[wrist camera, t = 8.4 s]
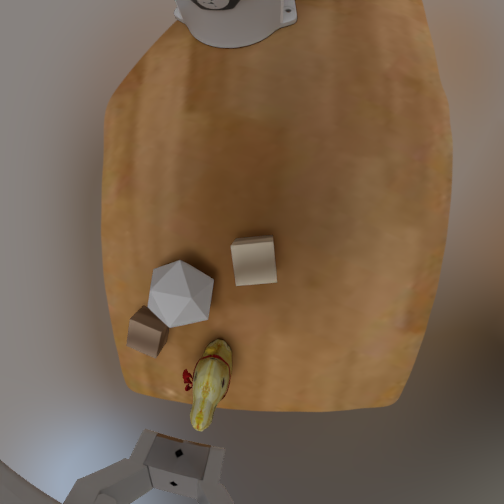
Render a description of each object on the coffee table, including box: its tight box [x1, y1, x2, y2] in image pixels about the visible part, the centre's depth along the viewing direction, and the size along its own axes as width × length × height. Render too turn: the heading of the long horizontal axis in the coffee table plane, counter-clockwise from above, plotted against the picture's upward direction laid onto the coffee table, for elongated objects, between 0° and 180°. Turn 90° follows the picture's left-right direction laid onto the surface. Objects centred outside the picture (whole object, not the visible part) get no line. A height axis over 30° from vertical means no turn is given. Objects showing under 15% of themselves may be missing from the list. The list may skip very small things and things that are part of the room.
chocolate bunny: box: [183, 339, 232, 431], centre depth 35 cm, size 7×11×15 cm, turn 170°
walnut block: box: [126, 306, 169, 358], centre depth 40 cm, size 5×5×5 cm
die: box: [148, 260, 214, 328], centre depth 36 cm, size 8×9×10 cm
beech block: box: [231, 235, 277, 286], centre depth 36 cm, size 5×5×5 cm
